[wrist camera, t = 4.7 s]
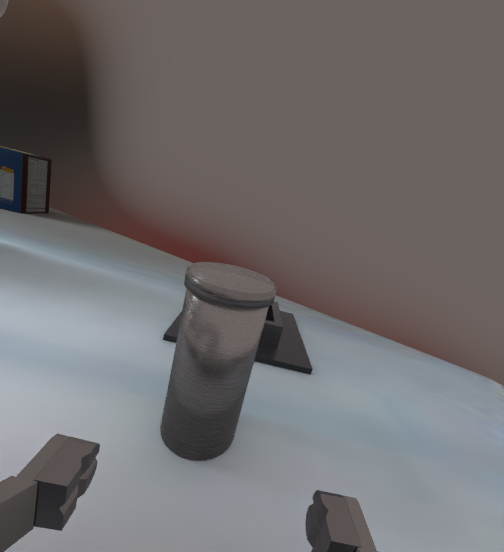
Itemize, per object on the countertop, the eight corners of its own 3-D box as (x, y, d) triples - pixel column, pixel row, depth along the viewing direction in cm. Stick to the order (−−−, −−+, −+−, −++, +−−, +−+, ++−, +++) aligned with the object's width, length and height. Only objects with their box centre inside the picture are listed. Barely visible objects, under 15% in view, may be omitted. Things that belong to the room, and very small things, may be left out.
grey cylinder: (143, 453, 15) (174, 273, 13) (172, 392, 21) (198, 256, 18) (233, 472, 16) (281, 298, 13) (239, 407, 21) (274, 274, 18)
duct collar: (163, 339, 28) (168, 313, 27) (197, 294, 43) (200, 277, 43) (310, 374, 28) (319, 349, 28) (291, 317, 44) (296, 300, 43)
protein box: (-4, 200, 79) (-3, 145, 75) (49, 213, 80) (53, 159, 76) (-42, 198, 69) (-42, 134, 65) (20, 213, 70) (23, 151, 66)
